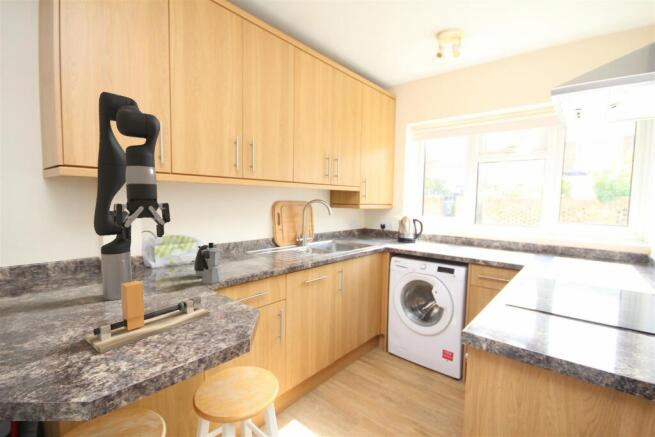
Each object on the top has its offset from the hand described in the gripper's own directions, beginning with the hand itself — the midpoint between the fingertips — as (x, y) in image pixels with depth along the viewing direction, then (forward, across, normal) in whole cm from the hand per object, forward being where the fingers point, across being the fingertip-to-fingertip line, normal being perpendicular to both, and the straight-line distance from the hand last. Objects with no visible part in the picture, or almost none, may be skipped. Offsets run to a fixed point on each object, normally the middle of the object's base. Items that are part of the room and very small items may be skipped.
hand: (144, 238), depth 86 cm
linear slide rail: (+26, 0, +2) cm, 26 cm away
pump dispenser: (+26, -43, -38) cm, 63 cm away
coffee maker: (+26, -37, -25) cm, 52 cm away
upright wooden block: (+24, +4, +1) cm, 25 cm away
